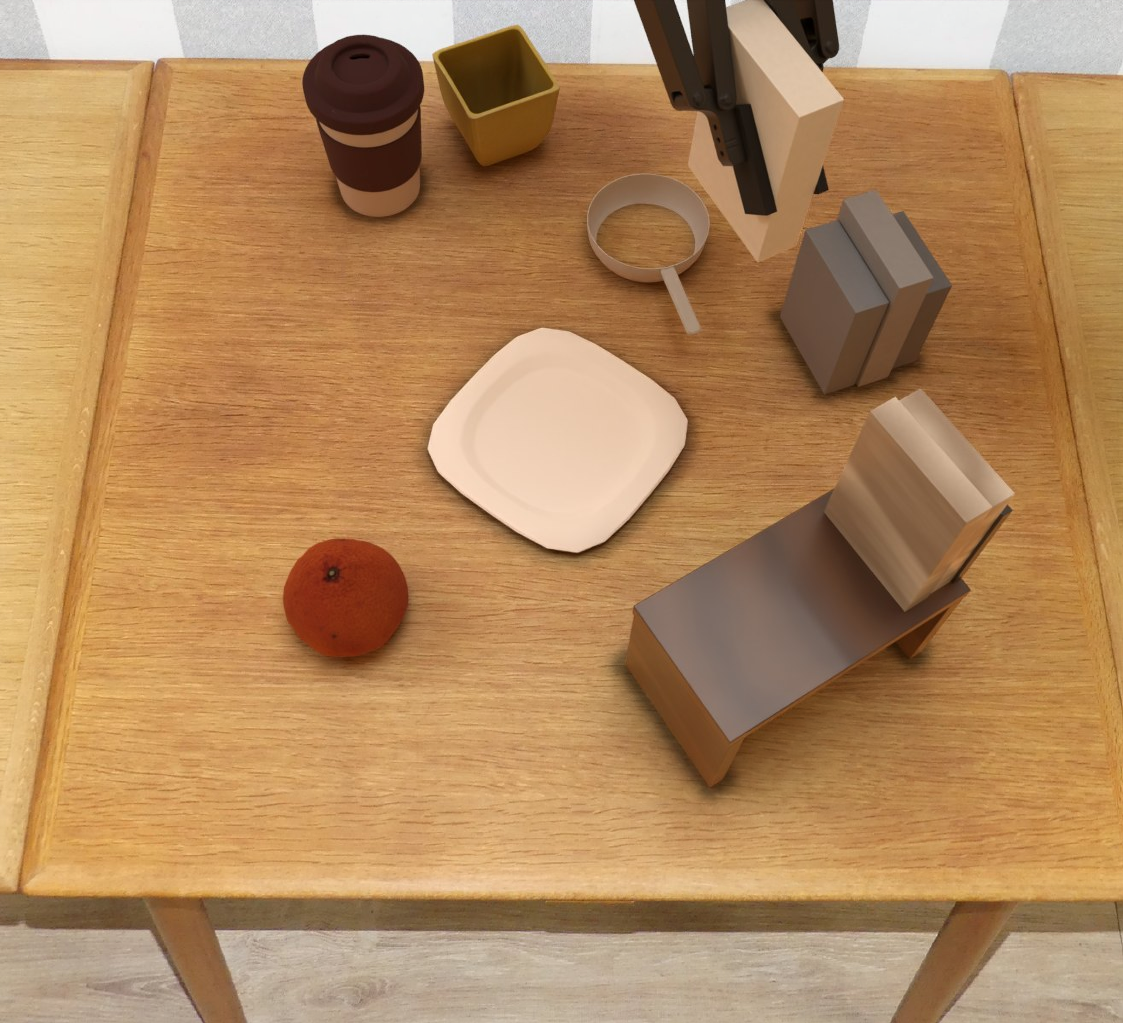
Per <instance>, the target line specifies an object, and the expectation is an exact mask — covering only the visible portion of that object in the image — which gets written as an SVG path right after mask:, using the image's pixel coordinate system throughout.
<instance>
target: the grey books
mask: <svg viewBox="0 0 1123 1023" xmlns="http://www.w3.org/2000/svg"><path fill="white" fill-rule="evenodd" d="M952 287H953V284H952V283H951V281H950V280H949V278H948V277H947V275H946V273H945V272H944V270H943V269H942V267H941V265H939V263H938V261H937V260H936V258H935V257H934V255H933V254H932V252H931V251H930V249H929V247H928V246H927V244H926V243H925V242H924V240H923V238H922V237H921V236H920V234H919V232H918V230H917V229H916V228H915V226H914V224H913V223H912V222H911V220H910V219H909V217H908V216H907V213H906V212H905V211H903V210H901V211H898V212H895V213H892V212H891V210H890V209H889V207H888V206H887V204H886V202H885V200H884V199H883V198H882V196H881V195H880V193H879V192H878V190H877V189H873V190H869V191H866V192H863V193H860V194H856V195H853V196H850V197H846V198H844V199H842V203H841V205H840V208H839V212H838V215H837V218H836V220H832V221H830V222H826V223H823V224H820V225H817V226H812V227H810V228H806V229H804V233H803V237H802V240H801V243H800V247H799V251H798V253H797V256H796V259H795V264H794V267H793V271H792V274H791V277H790V280H789V284H788V287H787V290H786V294H785V297H784V301H783V304H782V307H781V311H780V314H779V318H780V320H781V321H782V323H783V325H784V327H785V329H786V330H787V333H788V334H789V336H790V337H791V339H792V341H793V343H794V344H795V346H796V348H797V350H798V351H799V353H800V355H801V357H802V358H803V360H804V361H805V363H806V365H807V367H808V369H809V370H810V373H811V374H812V376H813V378H814V380H815V381H816V383H817V385H818V387H819V388H820V390H821V391H822V394H823V395H829V394H831V393H835V392H837V391H840V390H843V389H846V388H849V387H852V386H855V385H856V387H857V388H859V387H860V388H861V387H862V386H866V385H869V384H872V383H875V382H877V381H881V380H883V379H886V378H887V379H888V378H889V376H890V374H891V371H892V370H894V369H896V368H897V369H898V368H900V367H903V366H906V365H909V364H912V363H914V362H917V359H918V357H919V355H920V353H921V351H922V349H923V347H924V345H925V343H926V341H927V339H928V336H929V334H930V332H931V330H932V328H933V326H934V324H935V322H936V320H937V318H938V316H939V314H940V312H941V310H942V308H943V306H944V304H945V302H946V300H947V297H948V296H949V294H950V291H951V289H952Z"/></svg>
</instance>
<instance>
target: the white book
mask: <svg viewBox="0 0 1123 1023" xmlns="http://www.w3.org/2000/svg"><path fill="white" fill-rule="evenodd" d="M726 11H727V19H728V28H729V36H730V45H731V54H732V62H733V71H734V80H735V88H736V97H737V100H736V104H735V105H742V104H751V107H752V111H753V115H754V119H755V123H756V127H757V131H758V135H759V139H760V143H761V147H762V152H763V156H764V160H765V164H766V168H767V172H768V176H769V180H770V184H771V188H772V192H773V196H774V200H775V204H776V208H777V212H775V213H773V214H770V215H768V216H762V215H751V214H745V212H744V208H743V204H742V201H741V197H740V193H739V189H738V185H737V181H736V177H735V173H734V170H733V166H723V165H722V164H721V163H720V161H719V160H718V157H717V153H716V149H715V146H714V142H713V138H712V134H711V130H710V126H709V123H708V119H707V117H706V116H705V115H704V114H703V113H702V112H699V111H696V112H697V113H696V116H695V117H696V118H695V123H694V130H693V134H692V140H691V145H690V150H689V156H688V161H687V167H688V168H689V170H690V171H691V172H692V174H693V175H694V177H695V178H696V180H697V181H698V182H699V184H700V185H701V186H702V188H703V189H704V191H705V192H706V194H707V195H708V196H709V197H710V199H711V200H712V201H713V203H714V204H715V206H716V207H717V209H718V210H719V211H720V213H721V214H722V215H723V217H724V219H725V220H726V221H727V222H728V224H729V225H730V227H731V228H732V230H733V231H734V232H735V233H736V235H737V236H738V238H739V239H740V240H741V242H742V243H743V244H744V246H745V247H746V249H747V251H748V252H749V254H751V256H752V257H753V259H754V260H755V261H756V263H761V262H763V261H766V260H768V259H771V258H772V257H774V256H777V255H780V254H782V253H784V252H787V251H789V250H791V249H794V248H796V247H797V246H798V242H799V240H800V236H801V233H802V230H803V227H804V224H805V222H806V218H807V215H808V212H809V210H810V206H811V203H812V200H813V197H814V194H813V193H814V190H815V187H816V185H817V182H818V179H819V176H820V172H821V169H822V166H823V167H824V164H825V160H826V157H827V154H828V151H829V148H830V144H831V141H832V140H833V136H834V132H835V130H836V126H837V125H838V124H837V123H838V120H839V118H840V114H841V112H842V108H843V105H844V102H845V98H844V97H843V95H841V94H840V92H839V91H838V89H837V88H836V87H835V86H834V84H832V82H831V81H830V80H829V79H828V77H827V76H826V75H825V74H824V72H822V71H821V70H820V69H819V68H818V66H817V65H816V64H815V63H814V62H813V60H812V59H811V58H810V57H809V55H808V54H807V53H806V52H805V50H804V49H803V48H802V47H801V46H800V44H799V43H798V42H797V41H796V39H795V38H794V37H793V36H792V34H791V33H790V32H789V31H788V30H787V28H786V27H785V26H784V25H783V23H782V22H781V21H780V20H779V18H778V17H777V16H776V15H775V14H774V12H773V11H772V10H771V9H770V7H769V6H768V5H767V4H766V2H765V1H764V0H742V1H740V2H737V3H734V4H731V5H729V6H726Z"/></svg>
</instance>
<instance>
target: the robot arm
mask: <svg viewBox="0 0 1123 1023" xmlns="http://www.w3.org/2000/svg"><path fill="white" fill-rule="evenodd" d="M764 1H765V2H766V4H767V5H768V6H769V7H770V9H771V10H772V11H773V12H774V14H775V15H776V16H777V17H778V18H779V20H780V21H781V22H782V23H783V25H784V26H785V27H786V28H787V30H788V31H789V32H790V33H791V34H792V36H793V37H794V38H795V39H796V41H797V42H798V43H799V44H800V46H801V47H802V48H803V49H804V50H805V52H806V53H807V54H808V55H809V57H810V58H811V59H812V60H813V62H814V63H815V64H816V65H817V66H818V68H819V69H820V70H821V71H822V73H824V69H825V68H824V66H825V65H824V64H825V63H826V62H827V61H828V60H829V59H833V58H835V57H836V56H837V55H838V54H839V52H840V41H839V35H838V34H839V33H838V27H837V20H836V13H835V6H834V0H764ZM633 3H634V6H635V7H636V10H637V13H638V16H639V19H640V22H641V25H642V27H643V30H644V33H645V36H646V38H647V42H648V44H649V47H650V50H651V52H652V56H653V57H654V61H655V64H656V66H657V69H658V72H659V75H660V77H661V80H662V83H663V85H664V88H665V91H666V93H667V96H668V99H669V101H670V105H671V107H672V108H673V110H675V111H677V112H698V111H699V112H702V113H703V114H704V115H705V116H706V117H707V119H708V123H709V126H710V130H711V134H712V138H713V142H714V146H715V149H716V153H717V157H718V160H719V161H720V163H721V164H722V165H723V166H733V170H734V173H735V177H736V181H737V185H738V189H739V193H740V197H741V201H742V204H743V208H744V212H745V214H751V215H762V216H768V215H770V214H773V213H775V212H777V208H776V204H775V200H774V196H773V192H772V188H771V184H770V180H769V176H768V172H767V168H766V164H765V160H764V156H763V152H762V147H761V143H760V139H759V135H758V131H757V127H756V123H755V119H754V115H753V111H752V107H751V104H742V105H735V104H736V100H737V97H736V88H735V80H734V71H733V62H732V54H731V45H730V36H729V28H728V19H727V11H726V7H727V3H726V0H686V6H687V14H688V15H687V16H688V22H689V23H688V24H689V30H690V39H691V45H690V42H689V39H688V36H687V33H686V30H685V27H684V25H683V21H682V19H681V15H680V13H679V10H678V7H677V4H676V2H675V0H633ZM691 46H692V47H691ZM829 190H830V189H829V183H828V180H827V175H826V172H825V168H824V165H823V166H822V169H821V172H820V176H819V179H818V182H817V185H816V187H815V190H814V193H813V195H821V194H823V193H825V192H828V191H829Z"/></svg>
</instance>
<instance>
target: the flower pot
mask: <svg viewBox="0 0 1123 1023" xmlns="http://www.w3.org/2000/svg"><path fill="white" fill-rule="evenodd" d="M431 55H432V60H433V63H434V69H435V73H436V74H435V75H436V79H437V82H438V86H439V90H440V95H441V98H442V101H443V103H444V105H445V108H446V110H447V113H448V114H449V115H450V117H451V119H452V121H453V122H454V124H455V126H456V127H457V129H458V130H459V132H460V134H461V136H462V137H463V139H464V141H465V142H466V144H467V146H468V148H469V149H470V151H471V153H472V155H473V157H474V158H475V160H476V161H477V162H478V163H479V165H480V166H482V167H490V166H492V165H494V164H495V165H496V164H498V163H500V162H503V161H506V160H509V159H512V158H514V157H517V156H521V155H523V154H527V153H529V152H531V151H534V150H535V149H536V148H538V146H540V145H541V143H542V142H543V141H544V140H545V139H546V137H547V136H548V134H549V132H550V130H551V129H552V126H553V122H554V119H555V113H556V108H557V103H558V98H559V95H560V94H559V93H560V89H561V87H560V86H561V85H560V84H559V82H558V80H557V79H556V77H555V75H554V74H553V72H552V71H551V69H550V68H549V66H548V65H547V64H546V62H545V61H544V59H543V57H542V56H541V55H540V52H538V50H537V48H536V46H535V45H534V44H533V42H532V41H531V39H530V37H529V36H528V34H527V33H526V31H525V30H524V28H523V27H521V26H520V25H519V24H513V25H510V26H506V27H503V28H500V29H498V30H495V31H491V32H489V33H486V34H483V35H480V36H476V37H474V38H471V39H467V40H465V41H461V42H459V43H455V44H451V45H449V46H446V47H441V48H440V49H438V50H436V51H434V52H433V53H432V54H431Z"/></svg>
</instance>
